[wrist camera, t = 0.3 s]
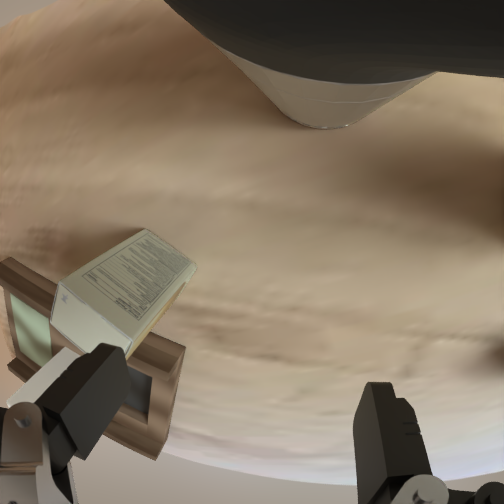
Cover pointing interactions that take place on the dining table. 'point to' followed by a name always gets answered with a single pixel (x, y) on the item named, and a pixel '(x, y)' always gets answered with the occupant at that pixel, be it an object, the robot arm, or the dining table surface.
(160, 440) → the channel
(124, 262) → the skincare box
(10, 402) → the block
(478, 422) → the dining table surface
